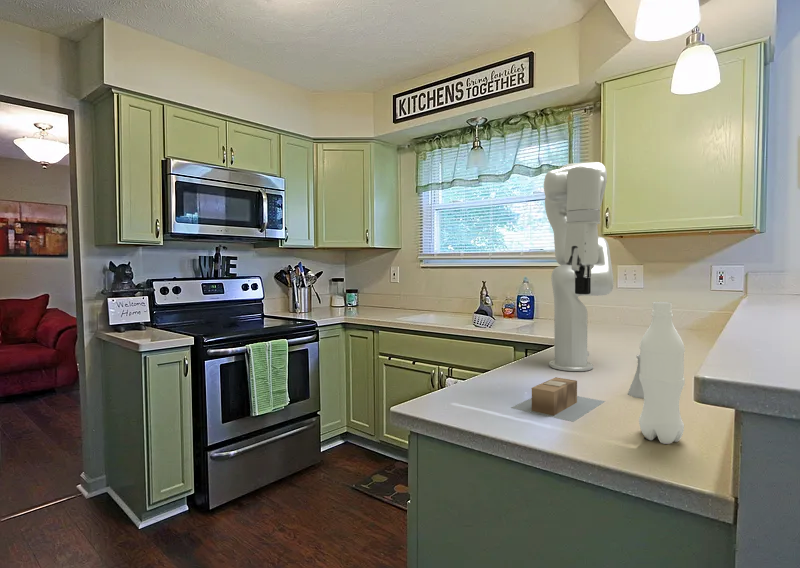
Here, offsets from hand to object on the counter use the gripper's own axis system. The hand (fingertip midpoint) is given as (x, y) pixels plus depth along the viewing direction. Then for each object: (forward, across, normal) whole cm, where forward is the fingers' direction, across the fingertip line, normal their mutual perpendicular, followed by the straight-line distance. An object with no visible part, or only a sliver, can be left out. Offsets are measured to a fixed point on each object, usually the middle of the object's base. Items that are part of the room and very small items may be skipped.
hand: (582, 293), depth 114 cm
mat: (+24, +15, +1) cm, 29 cm away
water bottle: (+24, +21, +23) cm, 39 cm away
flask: (+25, -5, +13) cm, 28 cm away
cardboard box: (+21, +11, +1) cm, 24 cm away
